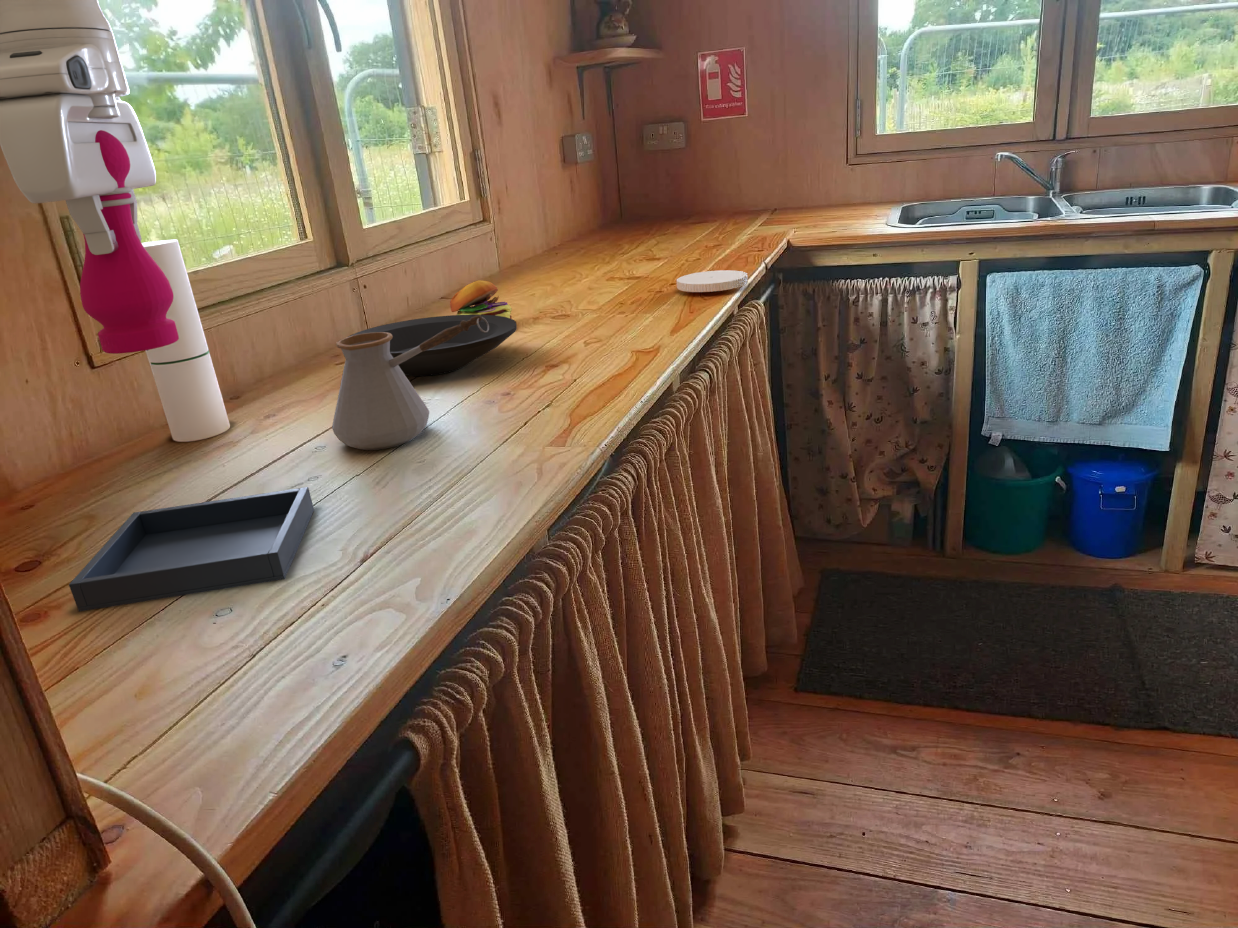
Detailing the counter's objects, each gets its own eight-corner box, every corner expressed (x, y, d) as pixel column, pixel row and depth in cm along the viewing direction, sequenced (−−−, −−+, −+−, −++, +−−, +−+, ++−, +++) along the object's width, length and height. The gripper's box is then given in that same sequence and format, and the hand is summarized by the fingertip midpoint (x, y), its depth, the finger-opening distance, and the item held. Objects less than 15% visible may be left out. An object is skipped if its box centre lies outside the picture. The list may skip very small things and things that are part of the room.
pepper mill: (98, 346, 80) (27, 113, 73) (183, 332, 83) (123, 107, 76) (95, 360, 74) (18, 107, 67) (187, 344, 77) (122, 101, 70)
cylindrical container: (221, 422, 121) (169, 238, 112) (238, 432, 116) (184, 240, 106) (167, 437, 117) (108, 248, 108) (181, 448, 112) (121, 250, 102)
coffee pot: (318, 459, 102) (288, 334, 97) (367, 426, 113) (342, 311, 107) (486, 460, 97) (464, 327, 91) (522, 424, 107) (504, 303, 101)
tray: (80, 616, 72) (68, 584, 71) (142, 539, 86) (133, 512, 84) (286, 583, 74) (277, 552, 73) (315, 513, 87) (308, 486, 86)
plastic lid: (669, 298, 170) (668, 285, 169) (687, 284, 182) (686, 272, 181) (740, 296, 165) (739, 282, 164) (753, 281, 178) (753, 269, 177)
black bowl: (315, 390, 132) (306, 354, 130) (397, 348, 153) (390, 317, 151) (482, 389, 123) (475, 351, 121) (544, 345, 144) (540, 312, 142)
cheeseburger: (492, 337, 153) (472, 282, 150) (451, 348, 159) (431, 296, 157) (527, 322, 161) (508, 270, 158) (486, 334, 167) (467, 283, 165)
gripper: (76, 86, 80) (123, 240, 85) (-45, 72, 61) (25, 270, 66) (147, 79, 81) (190, 232, 86) (50, 63, 62) (112, 260, 67)
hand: (118, 249), depth 76 cm, fingers closed on pepper mill, 4 cm apart
